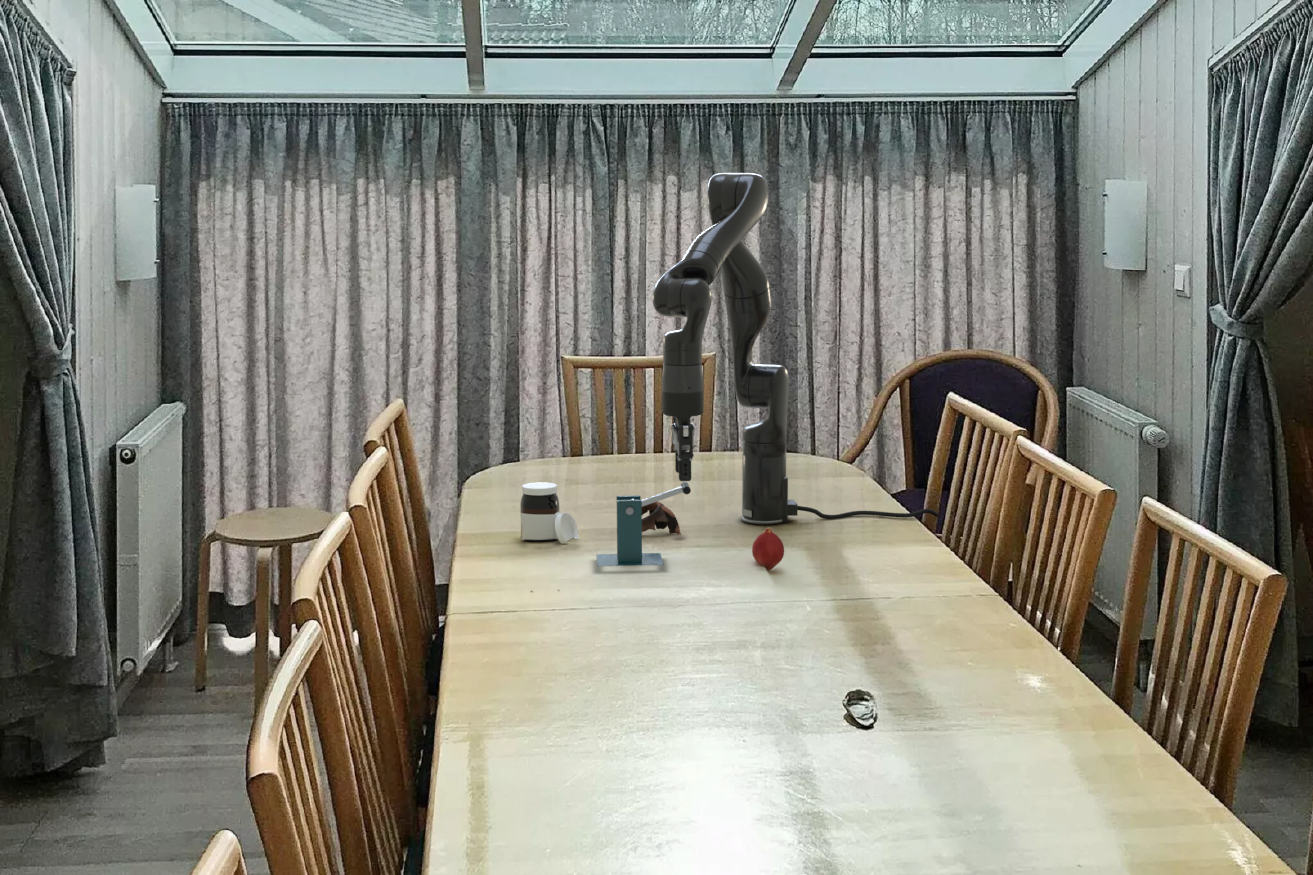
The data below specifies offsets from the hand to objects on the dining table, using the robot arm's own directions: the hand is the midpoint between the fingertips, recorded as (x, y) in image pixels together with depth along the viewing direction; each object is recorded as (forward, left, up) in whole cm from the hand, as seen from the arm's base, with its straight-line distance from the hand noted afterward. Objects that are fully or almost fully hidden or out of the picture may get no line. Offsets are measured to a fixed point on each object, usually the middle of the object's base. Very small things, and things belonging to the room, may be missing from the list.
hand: (683, 476), depth 253 cm
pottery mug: (+4, -24, -17) cm, 29 cm away
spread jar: (+25, -19, -17) cm, 36 cm away
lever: (+5, 0, -5) cm, 7 cm away
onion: (-15, +5, -17) cm, 23 cm away
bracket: (+10, 0, -17) cm, 19 cm away
